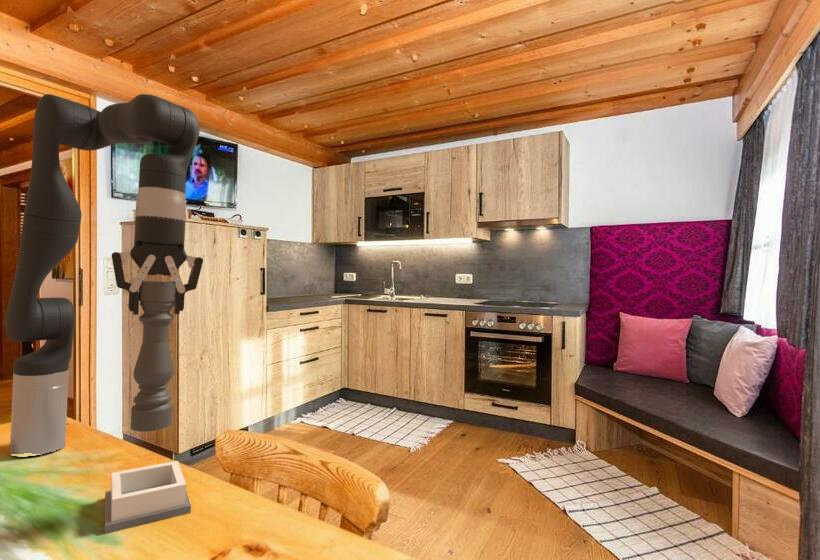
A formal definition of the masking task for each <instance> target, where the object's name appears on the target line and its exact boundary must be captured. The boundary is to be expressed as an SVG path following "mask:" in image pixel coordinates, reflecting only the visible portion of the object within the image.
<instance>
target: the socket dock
mask: <svg viewBox="0 0 820 560" xmlns="http://www.w3.org/2000/svg"><path fill="white" fill-rule="evenodd" d="M110 480H111V482H110V483H111V484H110V486H111V487H110V490H107V491H104V493H105V494H104V495H105V496H104V534H108V533H109V534H110V533H113V532H117V531H120V530H125V529H129V528H134V527H137V526H140V525H145V524H149V523H154V522H158V521H161V520H165V519H166V520H167V519H170V518H174V517H177V516H182V515H186V514H191V511H192V505H191V501H190V499H189V496H188V492H187V483H186V480H185V477H184V473H183V472H182V468H181V466H180V464H179V460H175V461H171V462H169V461H168V462H164V463H158V464H153V465H148V466H142V467H138V468H131V469H126V470H120V471H115V472H111V479H110Z"/></svg>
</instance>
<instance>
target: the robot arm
mask: <svg viewBox="0 0 820 560" xmlns="http://www.w3.org/2000/svg"><path fill="white" fill-rule="evenodd" d="M199 123H200V122H199V120H198V118H197V116H196V114H195V113H194V111H193V110H191V109H189V108H187V107H185V106H182V105H179V104H177V103H174V102H172V101H170V100H167V99H164V98H162V97H159V96H157V95H153V94H147V93H142V94H141V93H140V94H137V95H136V96H135V97H133V99H131V100H129V101H128V102H120V103H119V102H117V103H113V104H110V105H107V106H106V107H104V108H103V109H102V110H101V111H99V110H97V109H94V108H93V107H91V106H89V105H86V104H83V103H79V102H77V101H74V100H71V99H67V98H65V97H62V96H59V95H56V94H50V93H46V94H44V95H43V96H41V97H40V98H39V100H38V102H37V103H36V107H35V111H34V116H33V127H32V151H31V152H32V153H31V166H30V167H31V168H30V176H29V183H28V190H27V195H26V200H25V206H24V211H23V212H24V213H23V217H22V225H21V234H20V243H19V244H20V245H19V252H18V259H17V265H16V271H15V274H14V275H15V276H14V279H13V284H12V287H11V291H10V295H9V299H8V303H7V308H6V313H5V320H4V322H5V323H4V326H5V327H4V328H5V333H6V336H7V337H8V339H9V340H11V341H12V342H16V343H17V342H18V343H21V342H22V343H24V342H25V343H26V342H37V341H44V344H42V346H40V347H39V348H38V349H36V350H34V351H33V352H30V353H28V354H24V355H23V356H20V357H18V358H17V359H16V360H15V361H14V363H13V371H12V372H13V373H12V374H13V375H12V400H11V418H10V419H11V420H10V421H11V422H10V434H9V435H10V436H9V438H10V439H9V441H10V442H9V455H10V454H24V453H32V454H44V453H49V452H53V453H55V452H57V451H56V450H58V451H60V450H62V449H63V448H64V447H65V446H66V437H67V436H66V433H67V415H68V398H69V394H68V393H69V376H70V375H69V374H70V361H71V357H72V354H73V342H74V333H75V326H76V312H75V311H76V310H75V307H74V304H73V302H72V301H71V300H70V299H69V298H67V297H38V295H39V292H40V289H41V287H42V285H43V283H44V281H45V279H46V278H47V276H48V275H49V274H50V273H51V272H52V271H53V269H54V268H56V267H57V266H58V265H59V264H60V263H61V262H62V261H63V260H64V259H65V258H66V257H67V256H68V255H69V254H70V253H71V252H72V250H73V249H74V248H75V246H76V245H77V243H78V241H79V236H80V230H81V221H82V210H81V206H80V205H79V202H78V200H77V198H76V197H75V195H74V193H73V191H72V189H71V187H70V185H69V183H68V182H67V180H66V178H65V175H64V173H63V171H62V168H61V161H60V146H65V147H67V148H73V149H76V150H82V151H89V152H90V151H97V150H101V149H104V148H107V147H109V146H113V145H117V144H145V143H146V144H147V143H150V142H152V141H157V142H160V143H163V144H167V145H168V146H167V149H166V152H164V153H147V154H144V155H143V156H142V157H141V158H140V162H139V170H138V171H139V172H138V173H139V174H138V176H139V177H138V191H137V197H136V201H135V209H134V210H135V215H134V216H135V218H134V219H135V221H134V237H133V238H134V240H133V241H134V242H133V246H132V249H130V251H123V252H122V251H121V252H119V251H115V252H114V251H113V252H112V253H111V260H112V266H113V272H114V278H115V284H116V287H117V288H119V289H122V290H125V291H127V292H128V310H129V312H132V315H134V316H138V315H139V311H140V310H139V309H140V301H139V287H140V285H141V283H142V282H143V281H145V279H146V277H147V276H155V275H156V276H157V275H161V276H163V277H164V276H165V277H169V278H170V280H171V282H174V283H176V301H174V306H173V315H180V312H183V311H184V309H185V294H186V293H188V292H190V291H193V290H196V289H197V286H198V282H199V279H200V276H201V275H200V274H201V271H202V269H203V268H202V267H203V263H204V259H203V258H202V257H201V256H199V257H198V256H197V257H195V256H191V255H188V254H187V252H186V249H185V241H186V240H185V239H186V238H185V236H186V219H187V201H186V189H187V188H186V187H187V186H186V185H187V184H186V183H187V171H188V167H189V165H190V163H191V158H192V155H193V153H194V150H195V147H196V145H197V143H198V139H199V136H200V124H199ZM129 258H131V259H132V260H133V262H134V264H136V266H137V267H138V268H139V269H138V270H137V272H136V274H135V275H134V277H133V279H132V281H131V282H127V281H126V279H125V278H126V277H125V273H124V268H123V266H124V265H126V264H127V263H128V260H129ZM185 262H187V267H189V268H190V272H189V277H188V281H187V283H185V284H184V283H183V280H182V278H181V275H180V273H179V270H178V269H180V267H181V266H182V265H183V264H184V263H185ZM59 449H60V450H59ZM54 451H55V452H54ZM49 454H50V453H49Z"/></svg>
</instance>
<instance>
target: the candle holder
mask: <svg viewBox="0 0 820 560" xmlns="http://www.w3.org/2000/svg"><path fill="white" fill-rule="evenodd" d="M138 292H139V306H140V307H141V309H142V311H143V312H144V313H143V314H141V315H140V316H139V317H138V320H139V321H140V322H141V324H142V325H143V327H142V330H143V331H142V343H141V347H140V350H139V353H138V356H137V359H136V362H135V365H134V369H133V372H132V373H133V374H132V375H133V379H134V381H135V383H137V384H138V389H139V391H138V393H137V395H135V396H134V398H133V403H134V405H132V407H131V409H130V427H129V428H130V429H131V430H132V431H134V432H143V433H145V432H146V433H147V432H153V431H154V432H155V431H159V430H163V429H166V428H168V427H169V426H171V425H172V417H173V403H172V402H170V401H171V399H172V394H171V393H170V392H169V390H168V389H166V388H168V386H169V382H170V381H171V379H172V378H173V376H174V373H175V367H174V363H173V358H172V353H171V349H170V345H169V333H170V332H169V330H170V324H171V322H174V318H175V317H174V315H172V314H171V313H170V311H171V310H172V308H174V301H176V283H174V282H172V281H159V280H155V281H154V280H151V281H150V280H143V282H142V283H141V285H140V287H139V289H138Z"/></svg>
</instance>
